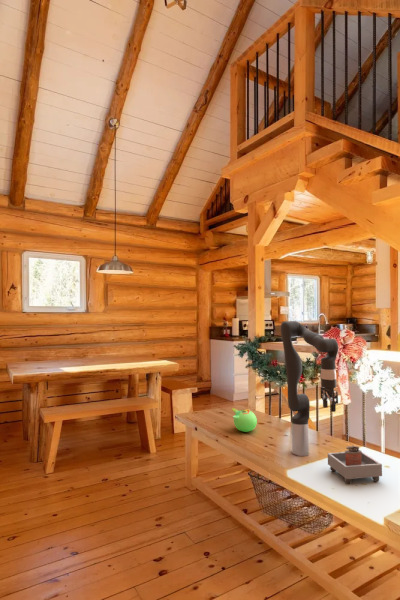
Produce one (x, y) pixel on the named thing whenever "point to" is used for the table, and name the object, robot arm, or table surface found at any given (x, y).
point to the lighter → (353, 456)
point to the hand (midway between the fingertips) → (329, 409)
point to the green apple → (244, 420)
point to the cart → (355, 467)
